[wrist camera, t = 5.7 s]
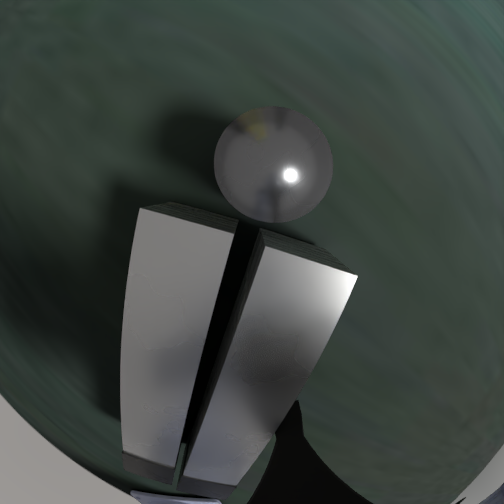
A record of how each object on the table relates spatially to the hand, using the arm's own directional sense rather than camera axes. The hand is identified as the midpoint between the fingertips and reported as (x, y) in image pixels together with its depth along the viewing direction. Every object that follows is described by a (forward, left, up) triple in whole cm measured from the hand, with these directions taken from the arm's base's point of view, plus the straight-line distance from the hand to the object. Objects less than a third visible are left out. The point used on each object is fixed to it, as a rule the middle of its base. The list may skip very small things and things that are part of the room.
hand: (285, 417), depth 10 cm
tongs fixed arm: (+4, +3, -1) cm, 5 cm away
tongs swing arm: (+2, +2, -1) cm, 3 cm away
